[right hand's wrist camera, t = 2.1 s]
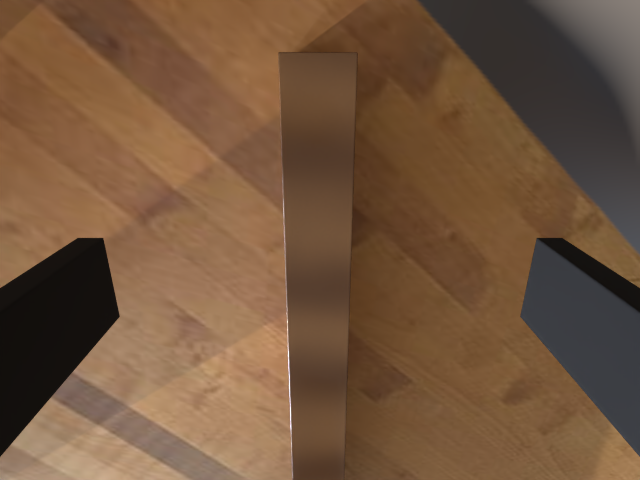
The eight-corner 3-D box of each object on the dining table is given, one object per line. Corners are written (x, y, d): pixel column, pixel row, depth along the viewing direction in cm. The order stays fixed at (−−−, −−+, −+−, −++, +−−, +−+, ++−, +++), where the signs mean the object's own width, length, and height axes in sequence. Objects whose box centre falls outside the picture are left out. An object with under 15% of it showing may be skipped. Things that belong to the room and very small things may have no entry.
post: (287, 59, 33) (277, 52, 25) (348, 59, 33) (357, 52, 25) (301, 594, 60) (298, 673, 52) (335, 594, 60) (337, 673, 52)
